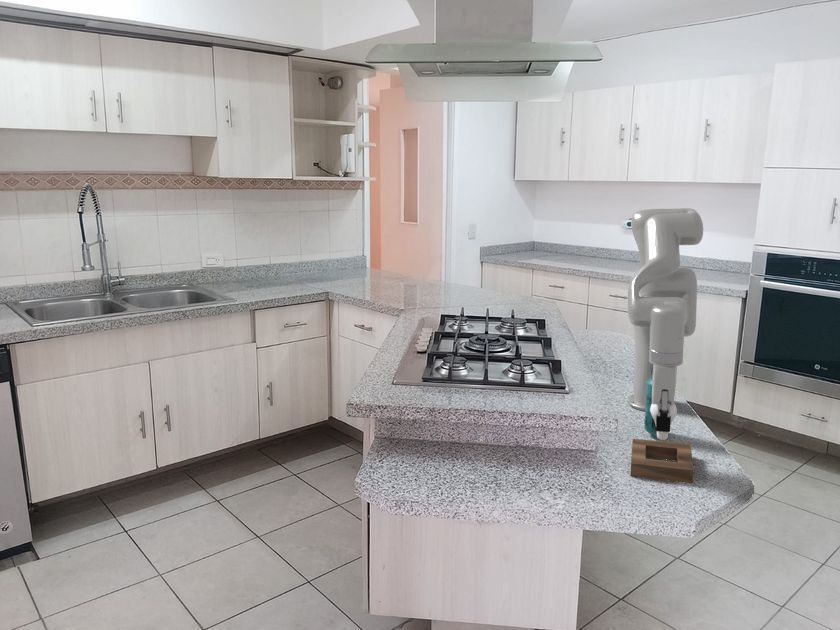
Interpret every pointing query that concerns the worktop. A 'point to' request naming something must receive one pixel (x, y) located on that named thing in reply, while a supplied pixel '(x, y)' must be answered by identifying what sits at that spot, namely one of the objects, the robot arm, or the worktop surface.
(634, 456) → the socket block
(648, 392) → the beverage bottle
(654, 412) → the lightbulb
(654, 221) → the robot arm
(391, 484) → the worktop surface
